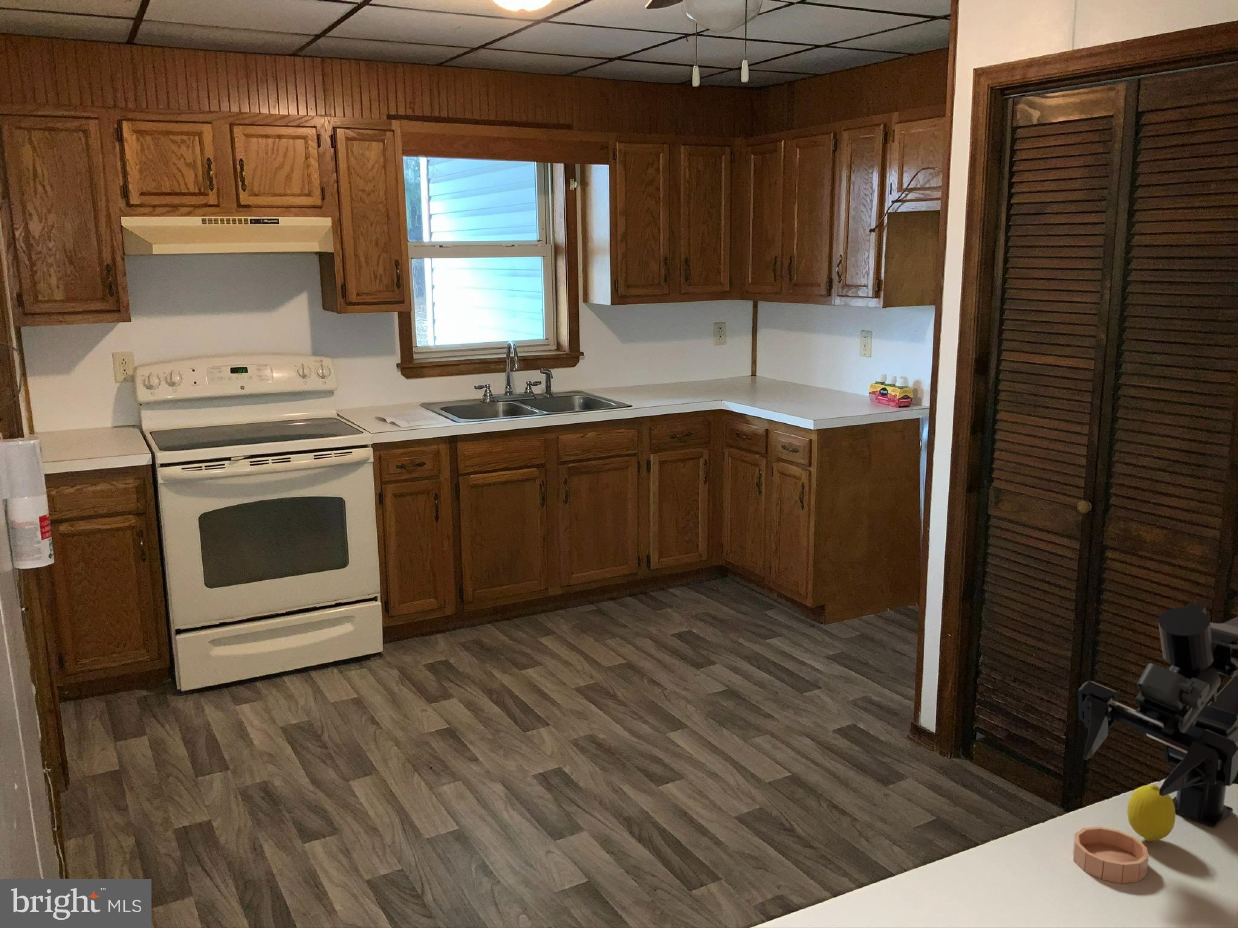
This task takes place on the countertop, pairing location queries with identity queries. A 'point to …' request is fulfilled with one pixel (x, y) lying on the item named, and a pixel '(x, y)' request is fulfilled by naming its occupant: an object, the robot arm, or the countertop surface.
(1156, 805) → the lemon
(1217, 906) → the countertop surface
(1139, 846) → the dish
